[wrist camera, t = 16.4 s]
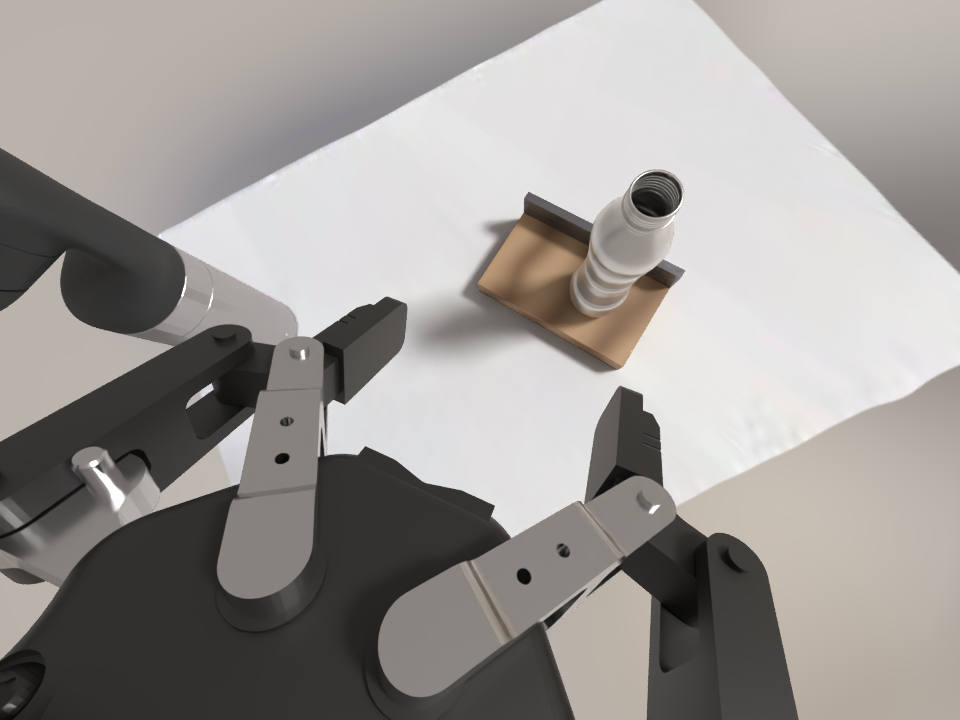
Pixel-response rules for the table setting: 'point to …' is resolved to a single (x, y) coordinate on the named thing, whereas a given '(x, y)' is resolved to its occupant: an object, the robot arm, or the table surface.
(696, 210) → the table surface
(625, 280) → the silver bottle
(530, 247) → the shelf board
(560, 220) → the rail
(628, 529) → the robot arm
